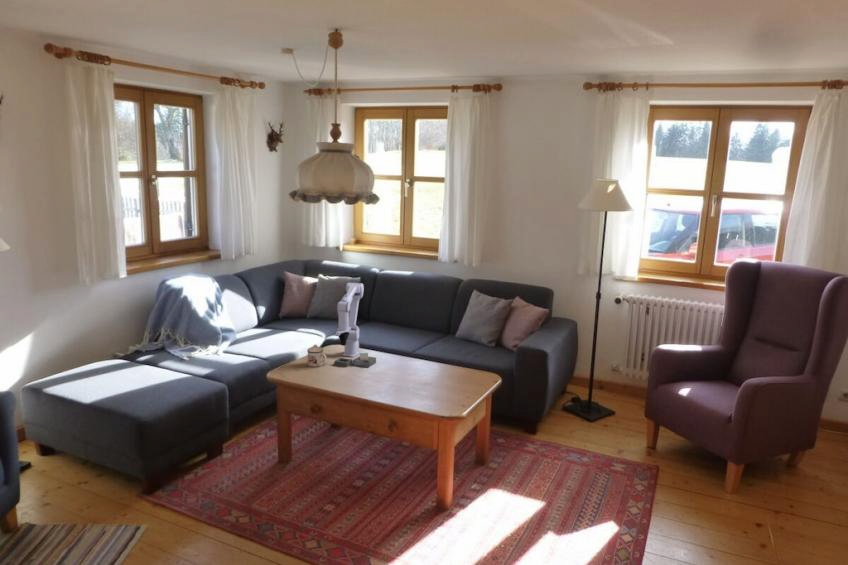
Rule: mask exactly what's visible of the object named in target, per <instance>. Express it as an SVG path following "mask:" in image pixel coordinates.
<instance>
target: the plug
mask: <svg viewBox="0 0 848 565" xmlns="http://www.w3.org/2000/svg"><path fill="white" fill-rule="evenodd" d="M359 352H360V353H359V356H360V360H366V361H368V357H369V351H359Z"/></svg>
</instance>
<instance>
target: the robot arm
mask: <svg viewBox="0 0 848 565" xmlns="http://www.w3.org/2000/svg"><path fill="white" fill-rule="evenodd" d="M364 289H365V286H364V284H363V282H362V283H359V282H358V283H357V282H347V283H346V286H345V290H346V294H344V295H343V297H342V298H341V300H340V301H339V302H337V306H336V308H337V309H336V311H337V315H338V328H336V332H335V336H336V337H337V336H338V338H339V340H340V344H341V346H344V353H342V354H341V356H343V357H349V358H350V357H351V358H354V357H356V356H359V355H360V352H361V351H360V342H359V338H360V327H359V326H358V325H357V320H358V319H357V317H358V311H359V305H360V304H359V303H360V300H361V299H362V298H363V296H364V291H365V290H364Z"/></svg>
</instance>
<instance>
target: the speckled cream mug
mask: <svg viewBox="0 0 848 565" xmlns="http://www.w3.org/2000/svg"><path fill="white" fill-rule="evenodd" d="M326 361H327V355H326V354H325V353H324V349H323V348H322V347H320V346H318V344H313V345H312V347H309V348H307V365H308V366H309V367H315V368H316V367H317V368H318V367H321V366H323V365H324V362H326Z"/></svg>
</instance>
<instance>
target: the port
mask: <svg viewBox="0 0 848 565" xmlns="http://www.w3.org/2000/svg"><path fill="white" fill-rule="evenodd" d="M376 363H377V357H376V356H375V357H374V356H368V361H366V360H360V355H358V357H356V358H354V359H353V364H352V366H356V367H362V368H368V369H369V368H370V367H371V366H373V365H375V364H376Z"/></svg>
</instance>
